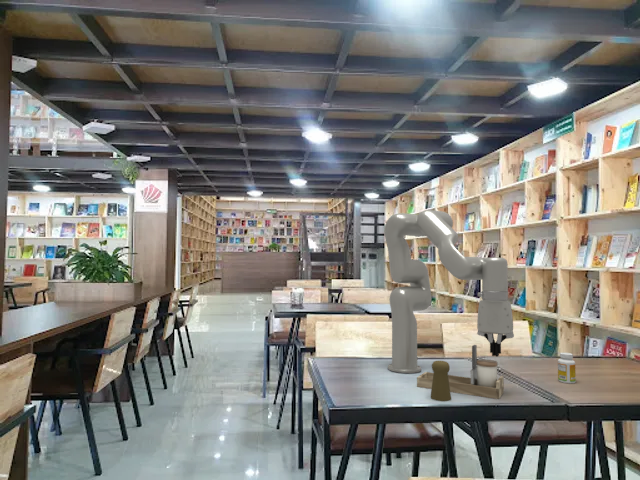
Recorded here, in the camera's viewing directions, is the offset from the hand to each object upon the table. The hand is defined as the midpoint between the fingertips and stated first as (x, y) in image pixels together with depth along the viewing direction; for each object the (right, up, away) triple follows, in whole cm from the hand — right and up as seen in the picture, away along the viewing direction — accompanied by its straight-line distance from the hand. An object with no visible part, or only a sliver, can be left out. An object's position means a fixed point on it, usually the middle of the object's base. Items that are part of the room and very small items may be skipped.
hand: (495, 355), depth 139 cm
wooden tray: (-10, -12, +5) cm, 16 cm away
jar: (-2, -12, +1) cm, 12 cm away
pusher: (-6, -12, +3) cm, 14 cm away
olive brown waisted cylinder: (-18, -12, -5) cm, 22 cm away
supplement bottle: (+32, -14, +16) cm, 38 cm away
